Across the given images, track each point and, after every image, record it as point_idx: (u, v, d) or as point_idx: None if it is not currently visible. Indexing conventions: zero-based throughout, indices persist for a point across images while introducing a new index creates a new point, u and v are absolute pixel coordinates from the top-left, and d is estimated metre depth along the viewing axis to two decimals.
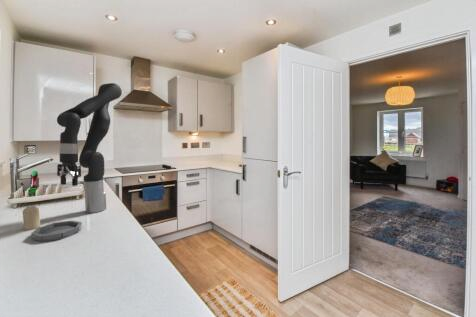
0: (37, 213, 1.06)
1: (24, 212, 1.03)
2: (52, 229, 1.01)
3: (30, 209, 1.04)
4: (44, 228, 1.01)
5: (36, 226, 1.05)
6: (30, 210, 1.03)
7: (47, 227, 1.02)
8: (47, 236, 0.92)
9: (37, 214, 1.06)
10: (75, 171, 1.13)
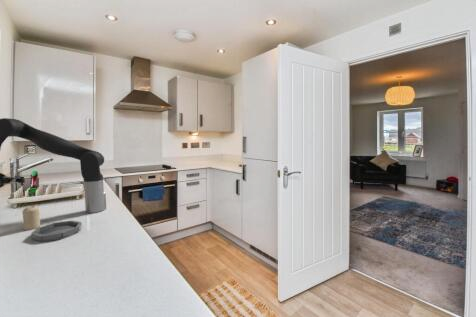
0: (37, 213, 1.06)
1: (24, 212, 1.03)
2: (52, 229, 1.01)
3: (30, 209, 1.04)
4: (44, 228, 1.01)
5: (36, 226, 1.05)
6: (30, 210, 1.03)
7: (47, 227, 1.02)
8: (47, 236, 0.92)
9: (37, 214, 1.06)
10: None
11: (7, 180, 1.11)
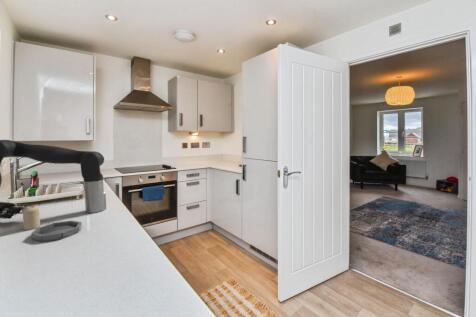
0: (37, 213, 1.06)
1: (24, 212, 1.03)
2: (52, 229, 1.01)
3: (30, 209, 1.04)
4: (44, 228, 1.01)
5: (36, 226, 1.05)
6: (30, 210, 1.03)
7: (47, 227, 1.02)
8: (47, 236, 0.92)
9: (37, 214, 1.06)
10: None
11: (17, 210, 1.11)
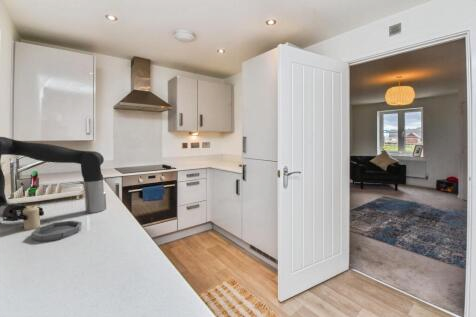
0: (37, 213, 1.06)
1: (24, 212, 1.03)
2: (52, 229, 1.01)
3: (30, 209, 1.04)
4: (44, 228, 1.01)
5: (36, 226, 1.05)
6: (30, 210, 1.03)
7: (47, 227, 1.02)
8: (47, 236, 0.92)
9: (37, 214, 1.06)
10: None
11: None
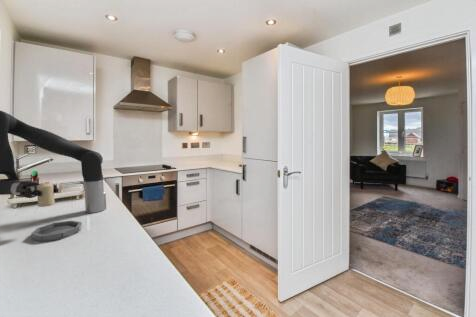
0: (51, 190, 1.00)
1: (38, 188, 0.97)
2: (52, 229, 1.01)
3: (44, 185, 0.98)
4: (44, 228, 1.01)
5: (50, 203, 1.00)
6: (44, 186, 0.98)
7: (47, 227, 1.02)
8: (47, 236, 0.92)
9: (51, 191, 1.00)
10: None
11: None
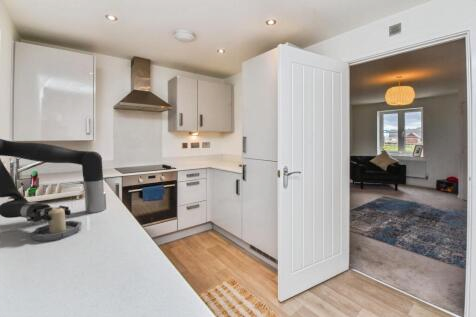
0: (63, 215, 0.99)
1: (50, 214, 0.96)
2: None
3: (56, 211, 0.97)
4: (44, 228, 1.01)
5: (62, 229, 0.99)
6: (56, 212, 0.97)
7: (47, 227, 1.02)
8: (47, 236, 0.92)
9: (63, 216, 0.99)
10: (32, 220, 0.95)
11: None
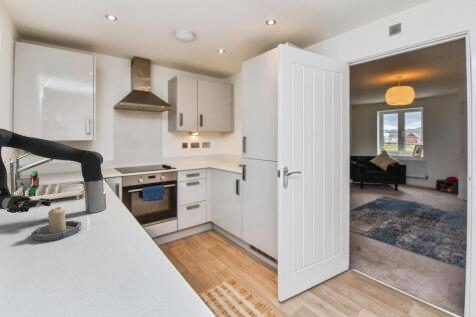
0: (63, 215, 0.99)
1: (50, 214, 0.96)
2: None
3: (56, 211, 0.97)
4: (44, 228, 1.01)
5: (62, 229, 0.99)
6: (56, 212, 0.97)
7: (47, 227, 1.02)
8: (47, 236, 0.92)
9: (63, 216, 0.99)
10: None
11: (33, 204, 1.07)
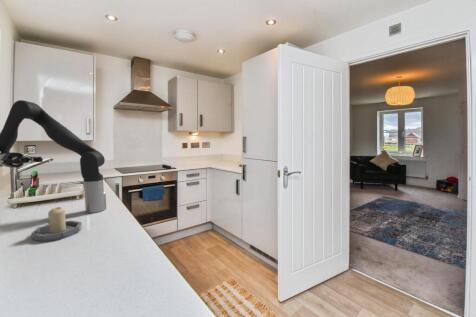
0: (63, 215, 0.99)
1: (50, 214, 0.96)
2: None
3: (56, 211, 0.97)
4: (44, 228, 1.01)
5: (62, 229, 0.99)
6: (56, 212, 0.97)
7: (47, 227, 1.02)
8: (47, 236, 0.92)
9: (63, 216, 0.99)
10: (5, 164, 1.09)
11: (26, 159, 1.15)
